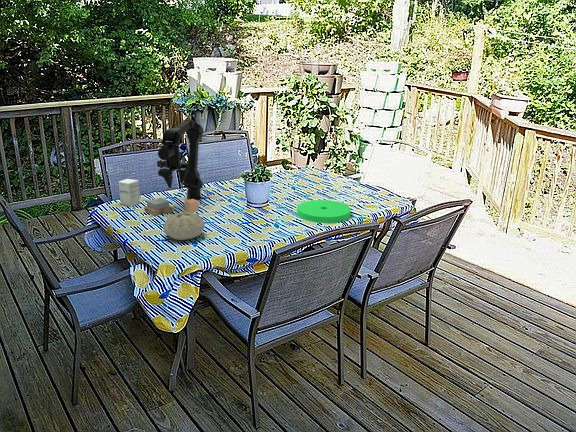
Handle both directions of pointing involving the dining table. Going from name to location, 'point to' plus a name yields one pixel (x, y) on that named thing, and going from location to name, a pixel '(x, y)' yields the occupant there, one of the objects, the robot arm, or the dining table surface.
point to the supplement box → (129, 192)
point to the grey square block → (158, 203)
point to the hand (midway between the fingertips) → (175, 185)
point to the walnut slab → (157, 212)
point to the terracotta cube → (191, 205)
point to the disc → (323, 211)
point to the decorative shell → (183, 226)
